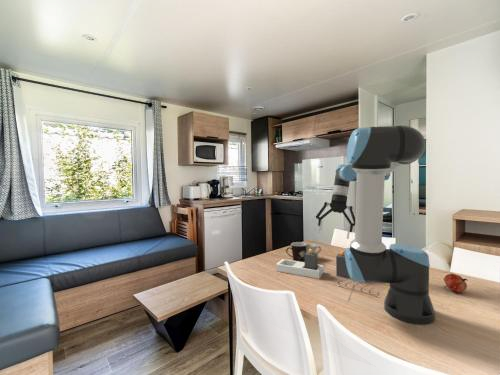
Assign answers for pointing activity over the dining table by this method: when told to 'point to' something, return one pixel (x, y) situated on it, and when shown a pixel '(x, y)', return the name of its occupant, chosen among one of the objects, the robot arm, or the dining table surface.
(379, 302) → the dining table surface
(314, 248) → the teacup
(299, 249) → the coffee mug
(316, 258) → the twin plug
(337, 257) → the plug
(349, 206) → the robot arm
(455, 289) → the red fruit with stem
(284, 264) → the strip
